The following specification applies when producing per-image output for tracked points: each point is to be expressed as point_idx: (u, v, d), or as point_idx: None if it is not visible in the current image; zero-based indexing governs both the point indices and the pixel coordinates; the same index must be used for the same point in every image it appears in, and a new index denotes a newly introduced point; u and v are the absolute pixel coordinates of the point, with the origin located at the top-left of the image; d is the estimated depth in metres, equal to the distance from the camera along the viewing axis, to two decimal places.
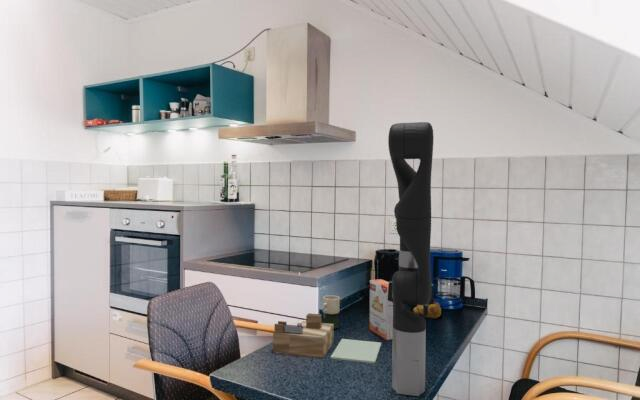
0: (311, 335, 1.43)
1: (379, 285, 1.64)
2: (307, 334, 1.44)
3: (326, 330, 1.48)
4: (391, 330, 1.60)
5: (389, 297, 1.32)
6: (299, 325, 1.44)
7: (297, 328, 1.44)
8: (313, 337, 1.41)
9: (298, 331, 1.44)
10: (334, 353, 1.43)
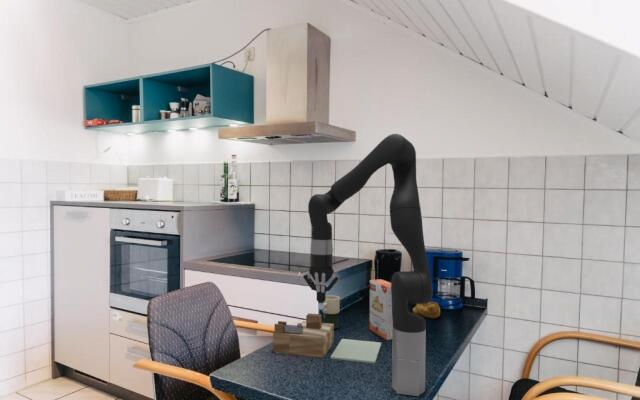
0: (311, 335, 1.43)
1: (379, 285, 1.64)
2: (307, 334, 1.44)
3: (326, 330, 1.48)
4: (391, 330, 1.60)
5: (312, 286, 1.42)
6: (299, 325, 1.44)
7: (297, 328, 1.44)
8: (313, 337, 1.41)
9: (298, 331, 1.44)
10: (334, 353, 1.43)
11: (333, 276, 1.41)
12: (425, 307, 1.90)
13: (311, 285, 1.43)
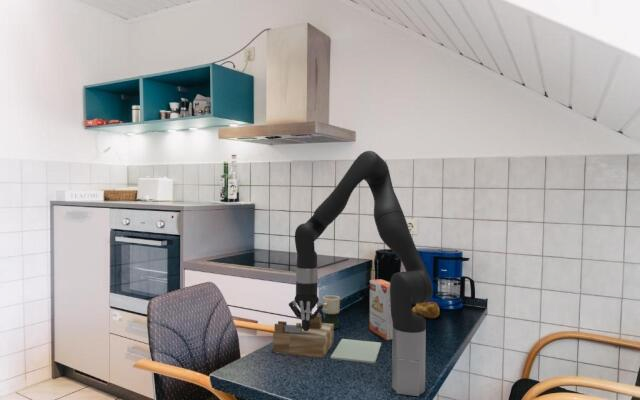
0: (311, 335, 1.43)
1: (379, 285, 1.64)
2: (307, 334, 1.44)
3: (326, 330, 1.48)
4: (391, 330, 1.60)
5: (298, 314, 1.44)
6: (298, 325, 1.44)
7: (296, 328, 1.44)
8: (313, 337, 1.41)
9: (297, 331, 1.44)
10: (334, 353, 1.43)
11: (318, 304, 1.43)
12: (424, 307, 1.90)
13: (296, 313, 1.44)
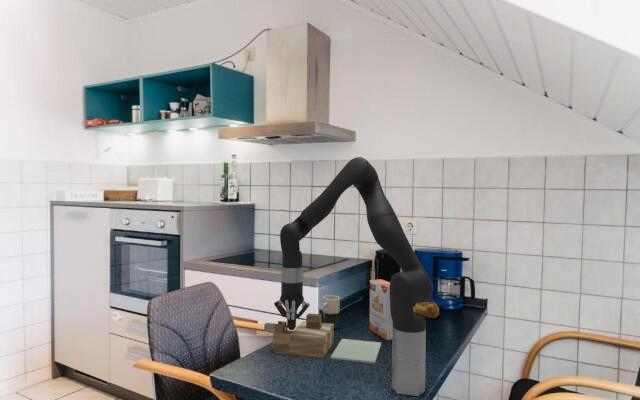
0: (311, 335, 1.43)
1: (379, 285, 1.64)
2: (307, 334, 1.44)
3: (326, 330, 1.48)
4: (391, 330, 1.60)
5: (283, 313, 1.45)
6: (283, 324, 1.45)
7: None
8: (313, 337, 1.41)
9: None
10: (334, 353, 1.43)
11: (303, 303, 1.44)
12: (424, 307, 1.90)
13: (282, 312, 1.45)
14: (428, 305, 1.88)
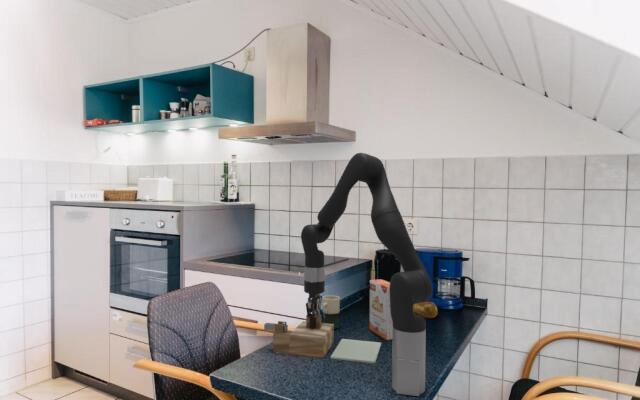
0: (311, 335, 1.43)
1: (379, 285, 1.64)
2: (307, 334, 1.44)
3: (326, 330, 1.48)
4: (391, 330, 1.60)
5: None
6: (283, 324, 1.45)
7: None
8: (313, 337, 1.41)
9: None
10: (334, 353, 1.43)
11: None
12: (422, 306, 1.90)
13: None
14: (426, 305, 1.88)
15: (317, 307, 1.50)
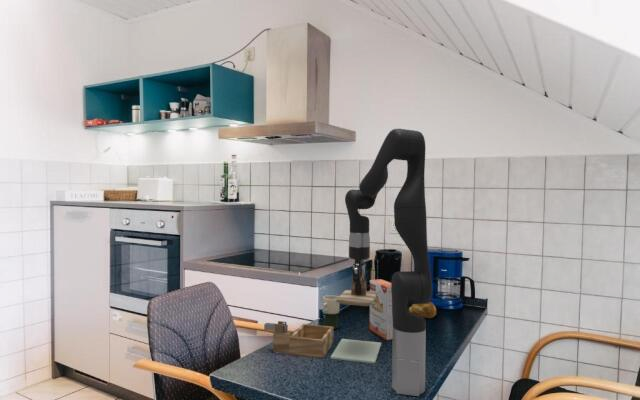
0: (359, 300, 1.41)
1: (379, 285, 1.64)
2: (354, 299, 1.41)
3: (372, 296, 1.46)
4: (391, 330, 1.60)
5: None
6: (283, 324, 1.45)
7: None
8: (361, 302, 1.39)
9: None
10: (334, 353, 1.43)
11: None
12: (420, 306, 1.90)
13: None
14: (424, 305, 1.89)
15: (363, 273, 1.47)
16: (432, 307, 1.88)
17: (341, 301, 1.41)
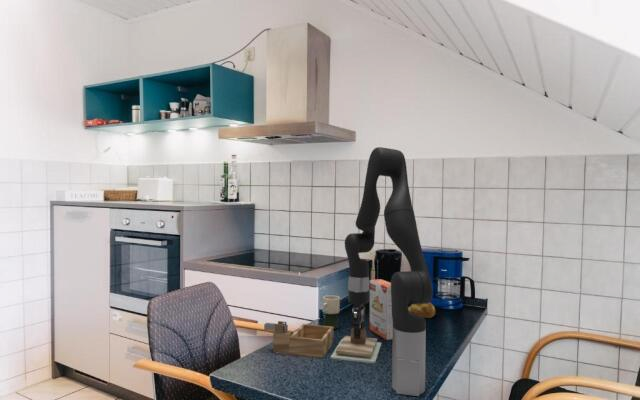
0: (358, 351, 1.41)
1: (379, 285, 1.64)
2: (354, 350, 1.41)
3: (371, 346, 1.46)
4: (391, 330, 1.60)
5: None
6: (283, 324, 1.45)
7: None
8: (360, 353, 1.39)
9: None
10: (334, 353, 1.43)
11: None
12: (419, 306, 1.90)
13: None
14: (423, 305, 1.89)
15: (362, 317, 1.47)
16: (431, 307, 1.88)
17: (340, 352, 1.41)
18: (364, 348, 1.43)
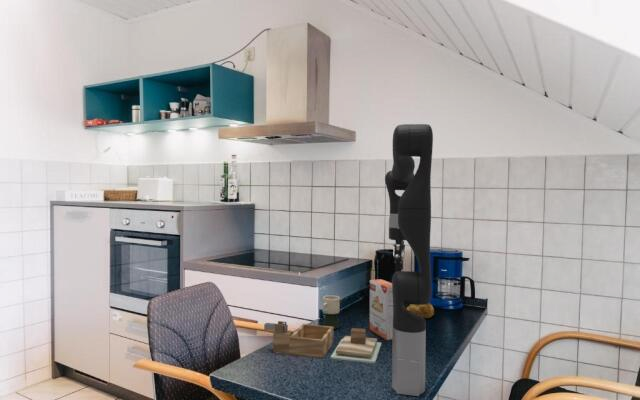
0: (358, 351, 1.41)
1: (379, 285, 1.64)
2: (354, 350, 1.41)
3: (371, 346, 1.46)
4: (391, 330, 1.60)
5: None
6: (283, 324, 1.45)
7: None
8: (360, 353, 1.39)
9: None
10: (334, 353, 1.43)
11: None
12: (417, 306, 1.91)
13: None
14: (421, 305, 1.89)
15: (403, 253, 1.46)
16: (429, 307, 1.88)
17: (340, 352, 1.41)
18: (364, 348, 1.43)
